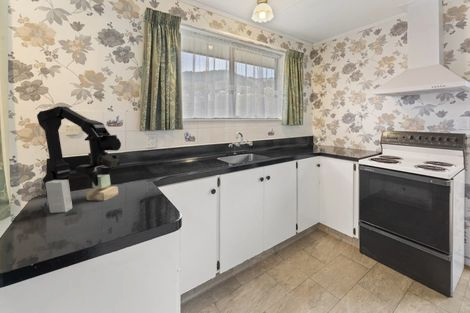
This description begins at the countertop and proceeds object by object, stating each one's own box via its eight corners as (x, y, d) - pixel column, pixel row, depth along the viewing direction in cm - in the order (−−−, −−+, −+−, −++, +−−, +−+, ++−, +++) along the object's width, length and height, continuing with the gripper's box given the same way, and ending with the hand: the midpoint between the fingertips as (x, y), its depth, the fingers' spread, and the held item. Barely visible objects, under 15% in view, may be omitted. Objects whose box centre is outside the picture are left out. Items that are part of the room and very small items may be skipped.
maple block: (86, 200, 101) (85, 191, 101) (102, 194, 110) (101, 186, 110) (104, 201, 100) (103, 192, 99) (118, 194, 108) (117, 186, 108)
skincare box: (73, 208, 91) (69, 179, 89) (65, 212, 87) (61, 182, 85) (57, 208, 91) (53, 179, 89) (49, 213, 87) (44, 182, 85)
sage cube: (92, 187, 102) (91, 176, 102) (101, 184, 107) (100, 174, 106) (101, 188, 101) (100, 177, 100) (110, 185, 106) (109, 174, 105)
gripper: (94, 153, 91) (98, 191, 93) (127, 148, 108) (130, 179, 111) (72, 153, 94) (77, 189, 96) (108, 147, 111) (111, 178, 114)
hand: (101, 184), depth 104 cm, fingers closed on sage cube, 5 cm apart
